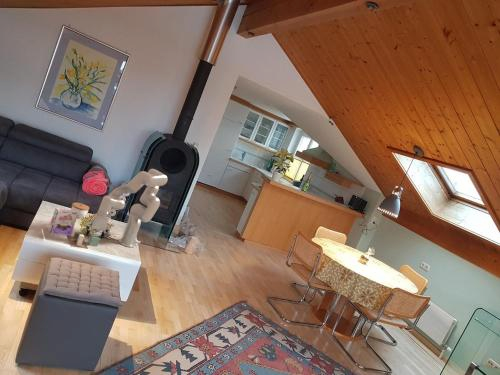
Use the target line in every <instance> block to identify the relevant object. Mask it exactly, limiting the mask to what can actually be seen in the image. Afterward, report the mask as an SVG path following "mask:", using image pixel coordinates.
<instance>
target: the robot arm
mask: <svg viewBox="0 0 500 375" xmlns="http://www.w3.org/2000/svg"><path fill="white" fill-rule="evenodd" d="M167 182H168V176H167V175H166V174H165V173H162V172H161V171H159V170H157V169H155V168H150V169H149V170H148V171H143V170H142V171H141V170H140V171H139V172H138V173H137V174H135V176H134V177H133V178H132V179H131V180H130V181H129V182H128V183H127V184H123V185H120V186H117V187H116V188H114V189H113V190H112V191H111V192H110V193H109V194H108V195H104V196H103V198H102V201H101V203H100V205H99V208H98V211H97V213H96V212H95V214H94V215H93V217H92V219H91V221H85V228H86V232H85V235H86V236H87V237H90V234H91V233H90V232H91V230H93V229H94V230H97V231H102V232H101V234H100V236H99V238H100V240H101V239H103V238H104V237H105V234H107V233H109V231H110V230H111V229H112V228H111V226H109V220H110V216H112V213H111V210H112V209H114V210H118V211H119V210H123V209H124V208H125V207H126V202H125V201H124V200H123V199H122V198H120V196H122V195H124V194H136V193H137V192H138V191H139V190H141V188H143V186H144V185H145V186H146V188H145V190H144V191H143V192H142V194H141V195H140V198H139V201H140V203H141V204H140V203H135V204H133V205H132V206H131V207H130V212H129V217H128V220H127V223H126V226H125V227H124V231H123V233H122V236H121V238H119V239H118V240H117V242H118V243H119V245H122V246H124V247H128V248H134V247H136V244H139V245H140V244H141V241H140V240H138V239H136V238H137V235H138V233H139V230H140V227H141V225H142V222H143V223H148V222H150V221H151V220H152V218H153V217H154V216H155V214H156V212H157V211H158V209H159V207H160V206H161V200H160V199H159V197H157V196H156V195H157V194H158V192H159V190H160V189H159V188H160V187H163V186H165V185H166V184H167ZM142 204H143V205H142Z"/></svg>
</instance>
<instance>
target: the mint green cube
mask: <svg viewBox="0 0 500 375" xmlns="http://www.w3.org/2000/svg"><path fill="white" fill-rule="evenodd" d="M100 240H101V237H100V236H99V235H98V234H91V233H90V234H89V238H88V242H87V243H88V245H89V246H90V247H98V246H99V242H100Z"/></svg>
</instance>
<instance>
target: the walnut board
mask: <svg viewBox="0 0 500 375" xmlns="http://www.w3.org/2000/svg"><path fill="white" fill-rule="evenodd" d="M79 234H81V233H80V232H78V231H75V232H74V235H72V234H71V235H67V234H66V237H67V240H68V243H69V246H70V247H73V248H80V249H89V248H88V245H87V243H86V240H85V238H84V239H83V242H82V244H81V246H77V245H76V243H77V240H78V237H79Z"/></svg>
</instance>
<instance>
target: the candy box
mask: <svg viewBox="0 0 500 375" xmlns="http://www.w3.org/2000/svg"><path fill="white" fill-rule="evenodd" d="M52 214H53V215H52V218H51V219H50V222H49V226H48V230H47V231H48V232H49V233H50V234H58V235H59V234H60V235H66V236H67V235H71V236H72V233H73V229H74V227H75V225H76V224H75V223H76V222H77V219H78V218H77V216H78V214H77V212H76V211H71V209H63V208H58V207H55V209H54V212H53V213H52Z"/></svg>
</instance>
